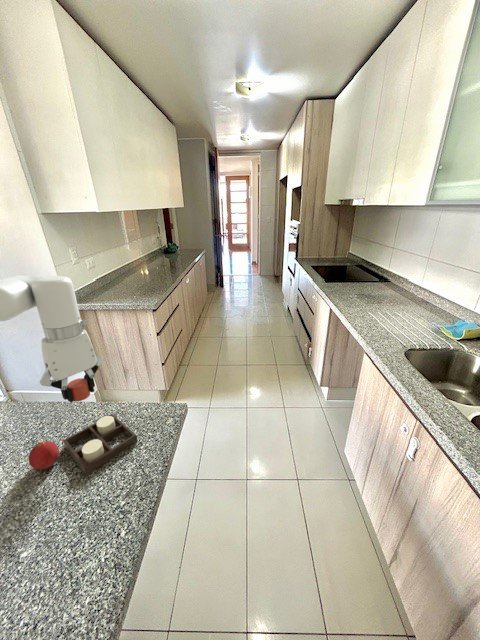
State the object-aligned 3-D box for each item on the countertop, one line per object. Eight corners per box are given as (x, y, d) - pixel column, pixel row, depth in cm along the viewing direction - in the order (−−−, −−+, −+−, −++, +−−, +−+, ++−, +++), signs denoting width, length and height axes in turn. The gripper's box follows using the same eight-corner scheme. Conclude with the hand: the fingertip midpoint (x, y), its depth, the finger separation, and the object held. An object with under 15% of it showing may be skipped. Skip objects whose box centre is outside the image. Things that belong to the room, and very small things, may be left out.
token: (96, 433, 73) (93, 422, 71) (111, 424, 76) (109, 413, 74) (103, 441, 70) (101, 429, 69) (119, 431, 73) (117, 420, 72)
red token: (67, 397, 67) (64, 383, 65) (85, 388, 70) (82, 376, 69) (75, 403, 64) (71, 390, 63) (93, 395, 68) (90, 382, 66)
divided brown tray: (65, 449, 68) (62, 440, 67) (113, 422, 78) (112, 413, 77) (87, 478, 61) (84, 468, 60) (137, 443, 70) (136, 435, 69)
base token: (81, 459, 64) (78, 447, 63) (99, 448, 68) (97, 436, 66) (89, 469, 62) (86, 457, 60) (108, 457, 65) (105, 445, 64)
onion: (28, 480, 60) (18, 454, 57) (39, 459, 65) (30, 435, 62) (57, 474, 62) (48, 448, 59) (65, 454, 67) (58, 430, 64)
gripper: (93, 317, 69) (105, 375, 75) (13, 337, 56) (36, 406, 63) (107, 323, 65) (119, 385, 71) (25, 347, 52) (48, 419, 59)
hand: (80, 394), depth 67 cm, fingers closed on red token, 4 cm apart
